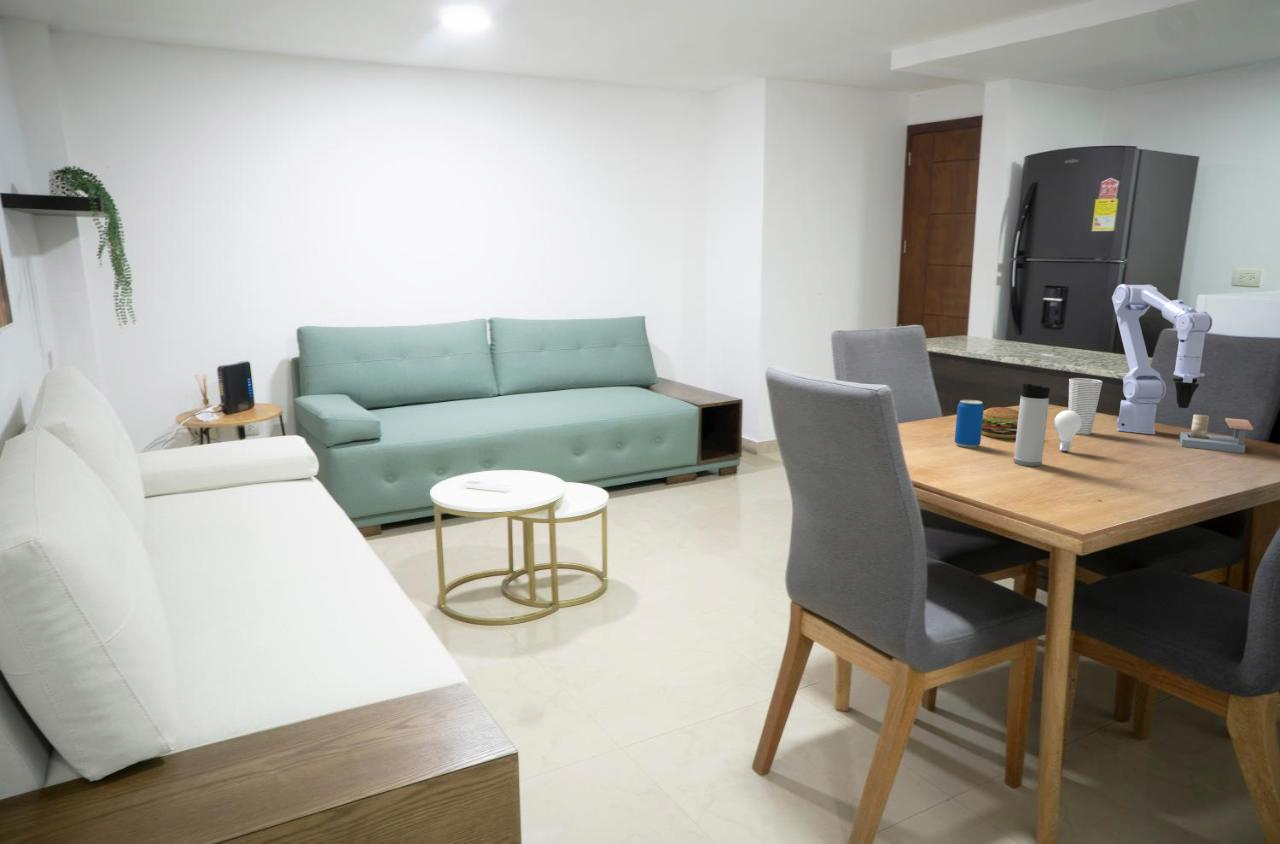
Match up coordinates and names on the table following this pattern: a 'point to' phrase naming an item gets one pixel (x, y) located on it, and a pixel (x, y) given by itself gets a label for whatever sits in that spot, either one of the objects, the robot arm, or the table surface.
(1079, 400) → the cup
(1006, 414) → the food
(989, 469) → the table surface
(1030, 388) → the travel mug
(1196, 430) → the peg
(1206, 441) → the socket station
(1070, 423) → the lightbulb
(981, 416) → the beverage can
